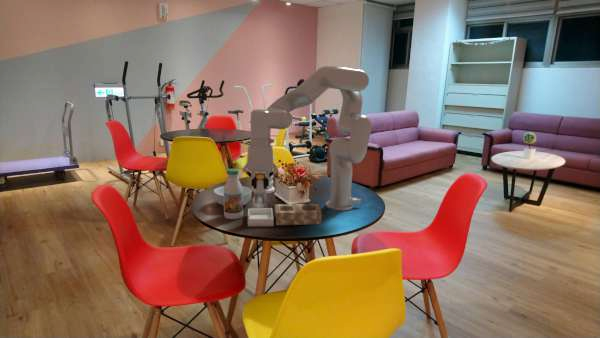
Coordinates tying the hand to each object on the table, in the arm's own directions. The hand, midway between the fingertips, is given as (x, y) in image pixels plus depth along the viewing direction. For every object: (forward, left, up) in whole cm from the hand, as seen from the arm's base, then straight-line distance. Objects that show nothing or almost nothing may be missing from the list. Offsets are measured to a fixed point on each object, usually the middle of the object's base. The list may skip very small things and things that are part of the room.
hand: (260, 187), depth 147 cm
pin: (0, 0, -6) cm, 6 cm away
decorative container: (-2, -40, -14) cm, 43 cm away
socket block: (-15, 0, -14) cm, 21 cm away
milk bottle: (+11, -5, -14) cm, 19 cm away
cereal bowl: (+12, -19, -14) cm, 27 cm away
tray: (0, 0, -14) cm, 14 cm away
